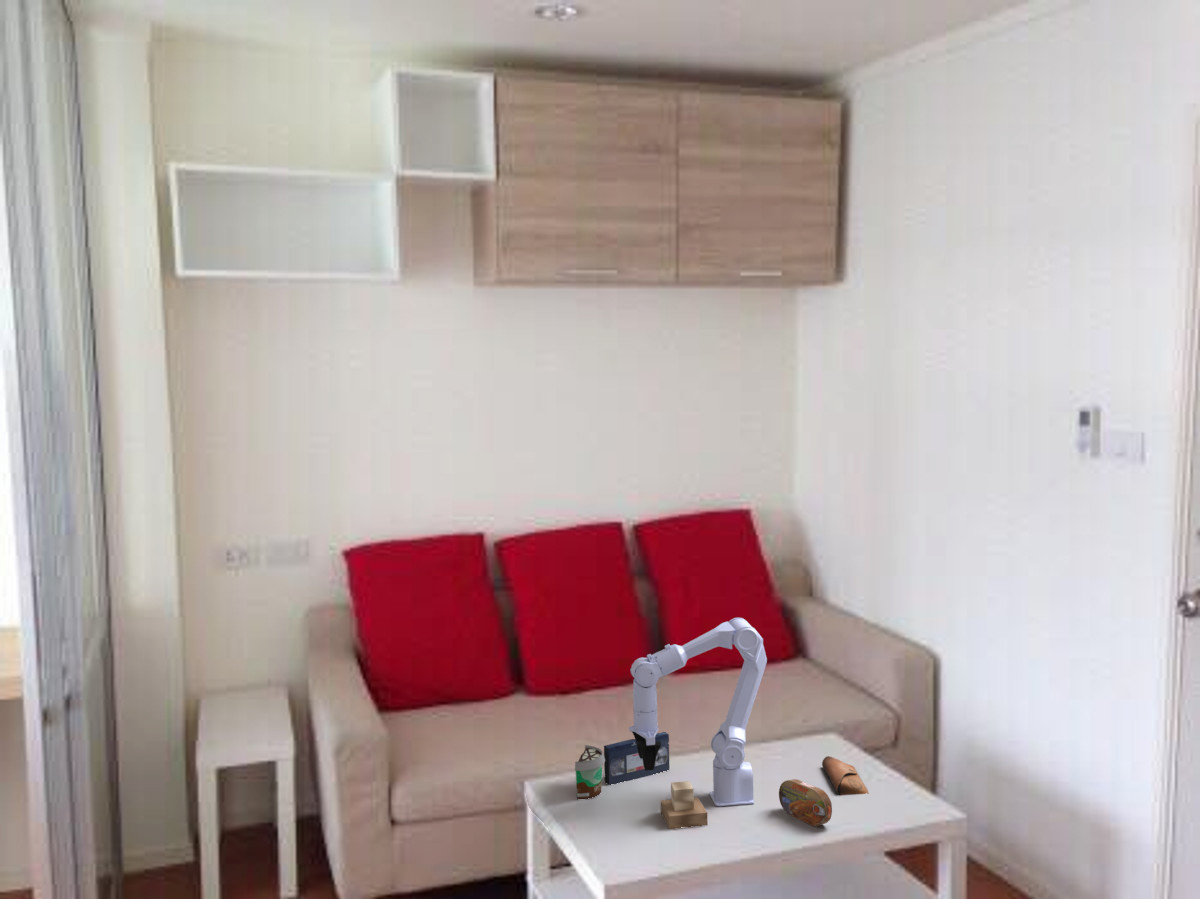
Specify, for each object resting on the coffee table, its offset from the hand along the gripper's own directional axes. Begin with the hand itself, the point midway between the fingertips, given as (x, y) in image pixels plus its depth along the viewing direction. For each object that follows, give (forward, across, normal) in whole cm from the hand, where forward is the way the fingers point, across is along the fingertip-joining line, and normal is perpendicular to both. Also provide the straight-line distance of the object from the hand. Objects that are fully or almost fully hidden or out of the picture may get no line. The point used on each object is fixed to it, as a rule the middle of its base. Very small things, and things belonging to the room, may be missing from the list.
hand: (646, 763), depth 267 cm
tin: (+11, +14, +35) cm, 39 cm away
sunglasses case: (+11, -6, +52) cm, 53 cm away
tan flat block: (+11, +9, +7) cm, 16 cm away
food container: (+11, -10, -12) cm, 19 cm away
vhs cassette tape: (+11, -18, 0) cm, 21 cm away
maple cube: (+7, +9, +7) cm, 13 cm away
